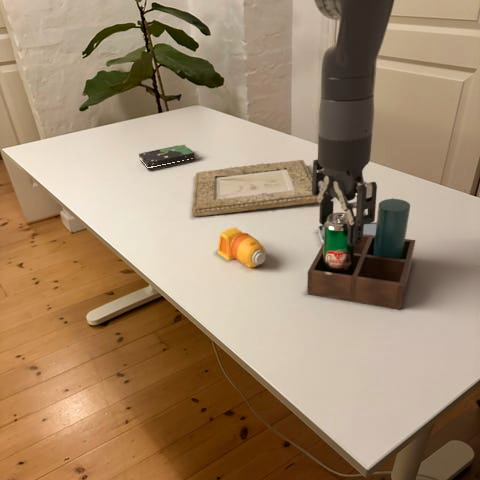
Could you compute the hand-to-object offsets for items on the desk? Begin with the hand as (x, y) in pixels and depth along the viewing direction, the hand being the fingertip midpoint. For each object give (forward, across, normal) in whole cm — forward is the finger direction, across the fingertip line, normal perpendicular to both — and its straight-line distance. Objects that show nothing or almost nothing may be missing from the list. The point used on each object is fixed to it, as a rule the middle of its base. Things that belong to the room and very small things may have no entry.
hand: (339, 233), depth 75 cm
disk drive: (+10, +82, +9) cm, 83 cm away
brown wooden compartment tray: (+10, 0, -5) cm, 11 cm away
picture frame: (+10, +48, -5) cm, 49 cm away
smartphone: (+10, +14, -13) cm, 21 cm away
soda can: (+10, 0, 0) cm, 10 cm away
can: (+10, 0, -10) cm, 14 cm away
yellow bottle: (+10, +16, +11) cm, 22 cm away
